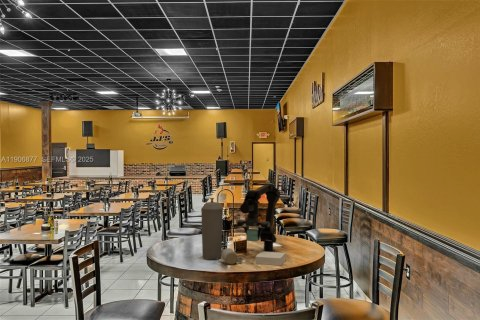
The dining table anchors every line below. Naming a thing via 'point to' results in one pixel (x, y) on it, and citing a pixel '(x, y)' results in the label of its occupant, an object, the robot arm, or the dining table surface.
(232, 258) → the ceramic mug
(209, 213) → the canister
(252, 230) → the teal block
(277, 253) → the grey base
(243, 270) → the dining table surface
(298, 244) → the dining table surface
